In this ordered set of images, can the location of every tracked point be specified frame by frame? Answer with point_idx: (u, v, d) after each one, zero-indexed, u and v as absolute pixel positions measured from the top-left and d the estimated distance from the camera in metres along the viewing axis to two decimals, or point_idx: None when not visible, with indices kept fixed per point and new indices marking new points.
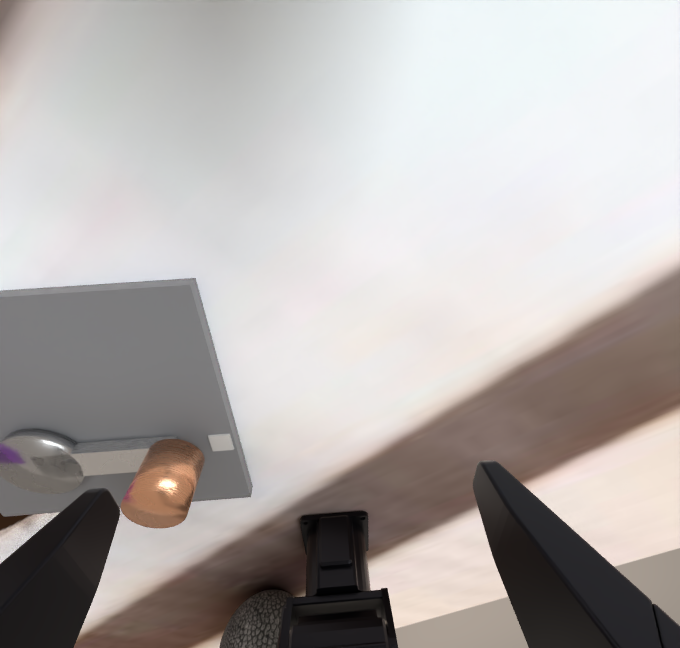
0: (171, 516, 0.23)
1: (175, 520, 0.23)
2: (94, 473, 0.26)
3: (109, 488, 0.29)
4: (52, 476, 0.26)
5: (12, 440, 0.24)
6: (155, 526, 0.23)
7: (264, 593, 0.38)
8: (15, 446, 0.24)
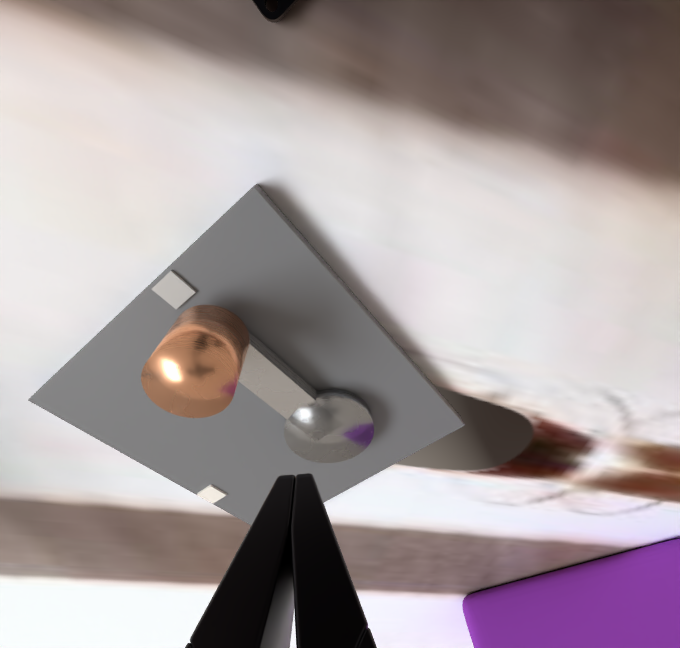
0: (185, 364, 0.15)
1: (189, 357, 0.15)
2: (303, 394, 0.21)
3: (353, 361, 0.22)
4: (335, 421, 0.23)
5: (300, 455, 0.24)
6: (223, 371, 0.15)
7: None
8: (306, 452, 0.24)
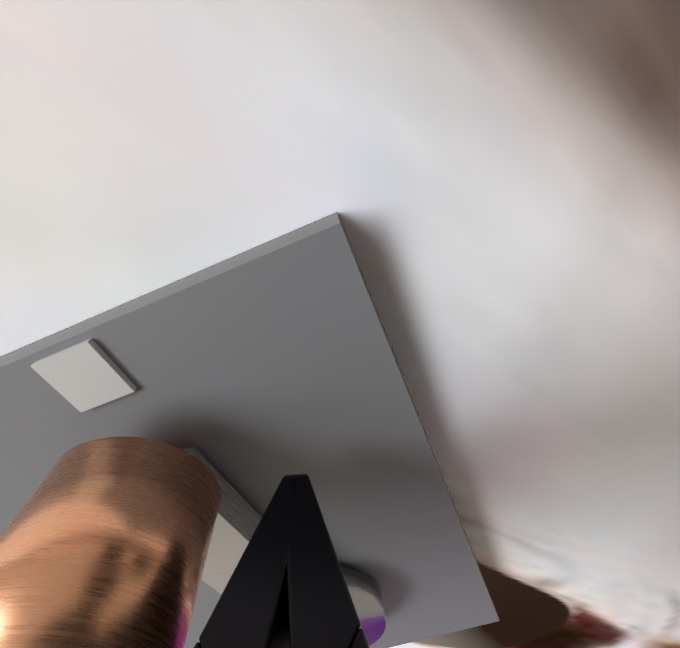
0: None
1: None
2: None
3: (388, 535, 0.13)
4: None
5: None
6: None
7: None
8: None
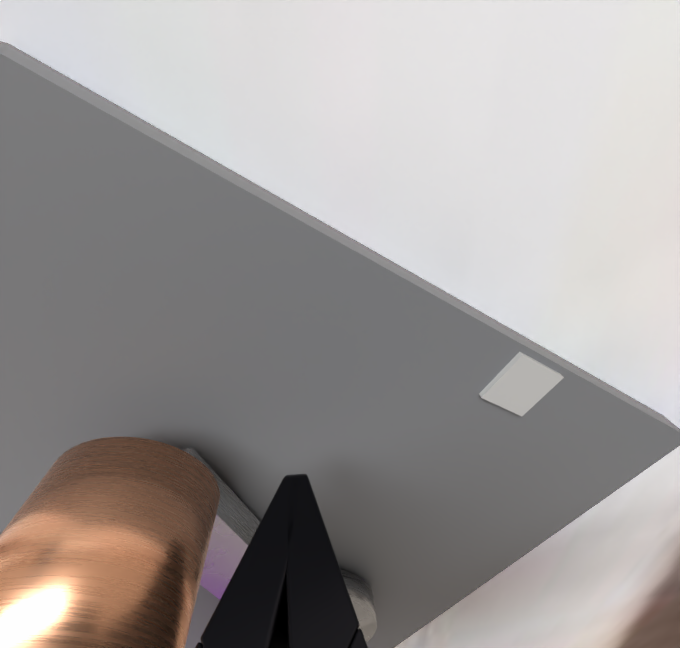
0: None
1: None
2: None
3: (424, 584, 0.15)
4: None
5: None
6: None
7: None
8: None
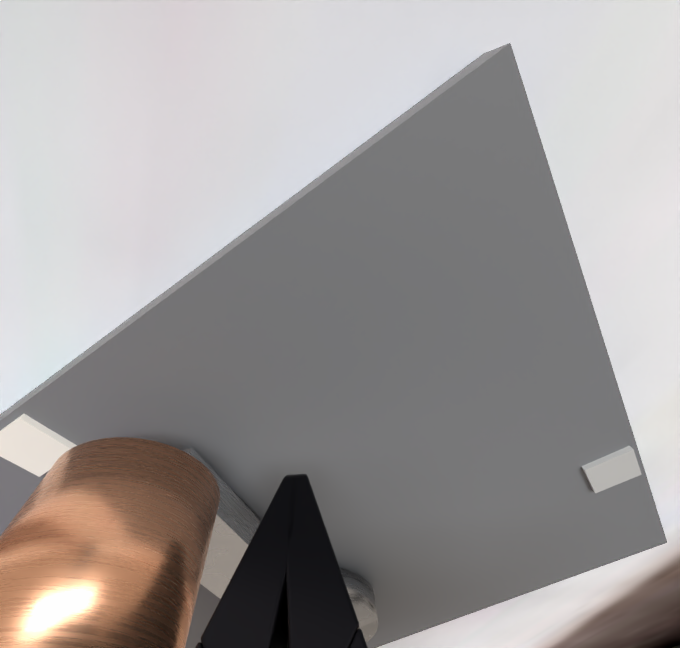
0: None
1: None
2: None
3: (410, 609, 0.16)
4: None
5: None
6: None
7: None
8: None
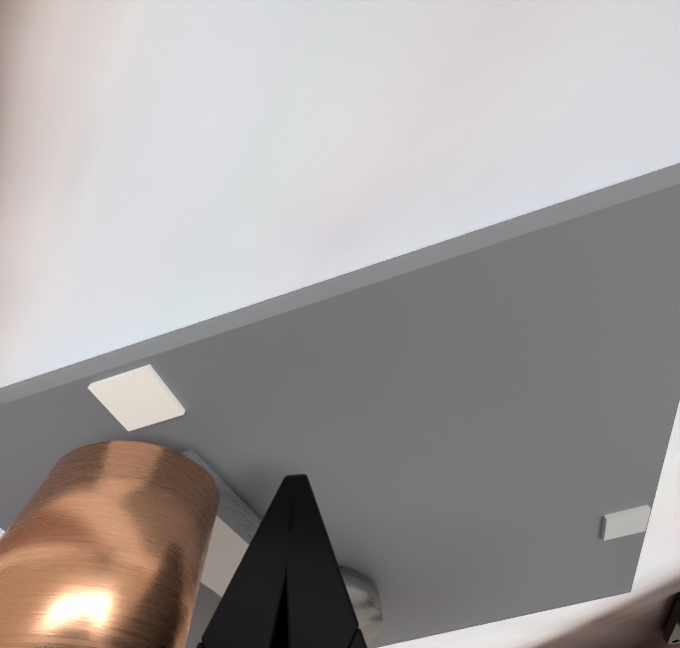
0: None
1: None
2: None
3: (397, 621, 0.17)
4: None
5: None
6: None
7: None
8: None
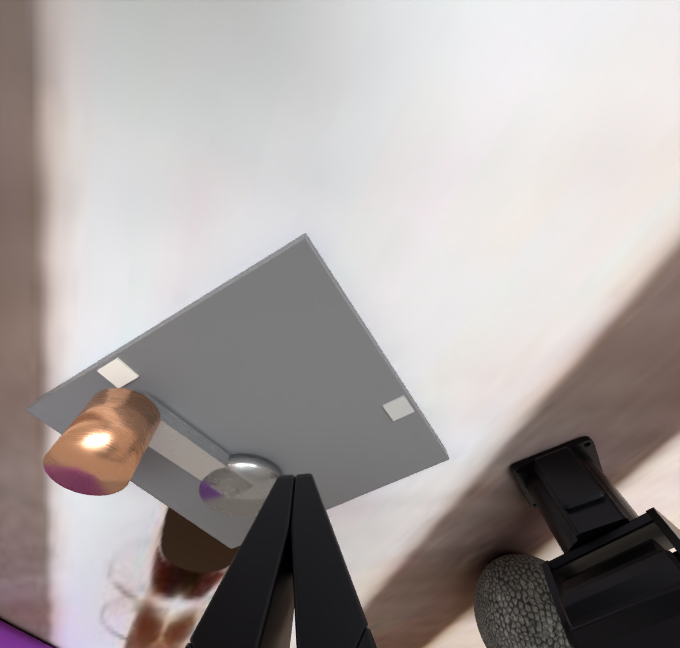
0: (82, 455, 0.17)
1: (86, 450, 0.17)
2: (214, 461, 0.24)
3: None
4: (246, 483, 0.25)
5: (216, 510, 0.26)
6: (118, 461, 0.17)
7: (499, 560, 0.34)
8: (222, 508, 0.26)
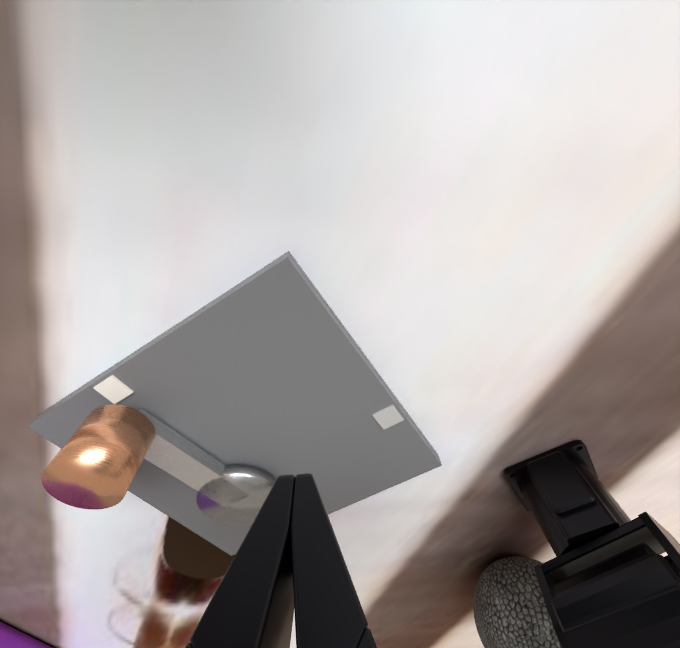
0: (78, 471, 0.18)
1: (81, 467, 0.18)
2: (210, 471, 0.24)
3: None
4: (242, 493, 0.25)
5: (214, 519, 0.27)
6: (112, 476, 0.18)
7: (497, 563, 0.34)
8: (219, 517, 0.27)
